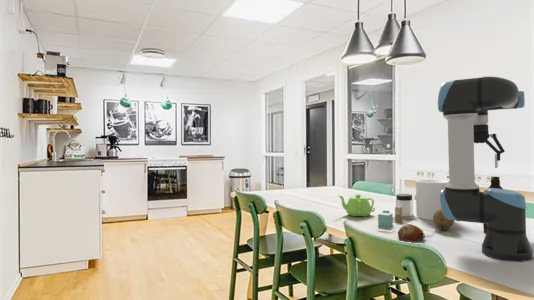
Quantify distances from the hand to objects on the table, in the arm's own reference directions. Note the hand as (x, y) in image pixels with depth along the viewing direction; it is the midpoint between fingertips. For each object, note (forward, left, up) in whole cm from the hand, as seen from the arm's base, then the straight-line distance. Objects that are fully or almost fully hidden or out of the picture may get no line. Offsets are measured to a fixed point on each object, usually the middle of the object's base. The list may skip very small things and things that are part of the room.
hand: (480, 167), depth 171 cm
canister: (-1, +22, -28) cm, 35 cm away
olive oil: (-18, -8, -28) cm, 34 cm away
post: (-19, +34, -27) cm, 47 cm away
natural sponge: (-23, +12, -28) cm, 38 cm away
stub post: (-15, +42, -27) cm, 52 cm away
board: (-18, +36, -28) cm, 49 cm away
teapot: (-17, +58, -28) cm, 67 cm away
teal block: (-32, +36, -28) cm, 56 cm away
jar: (-3, +36, -28) cm, 46 cm away
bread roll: (-45, +20, -28) cm, 57 cm away
